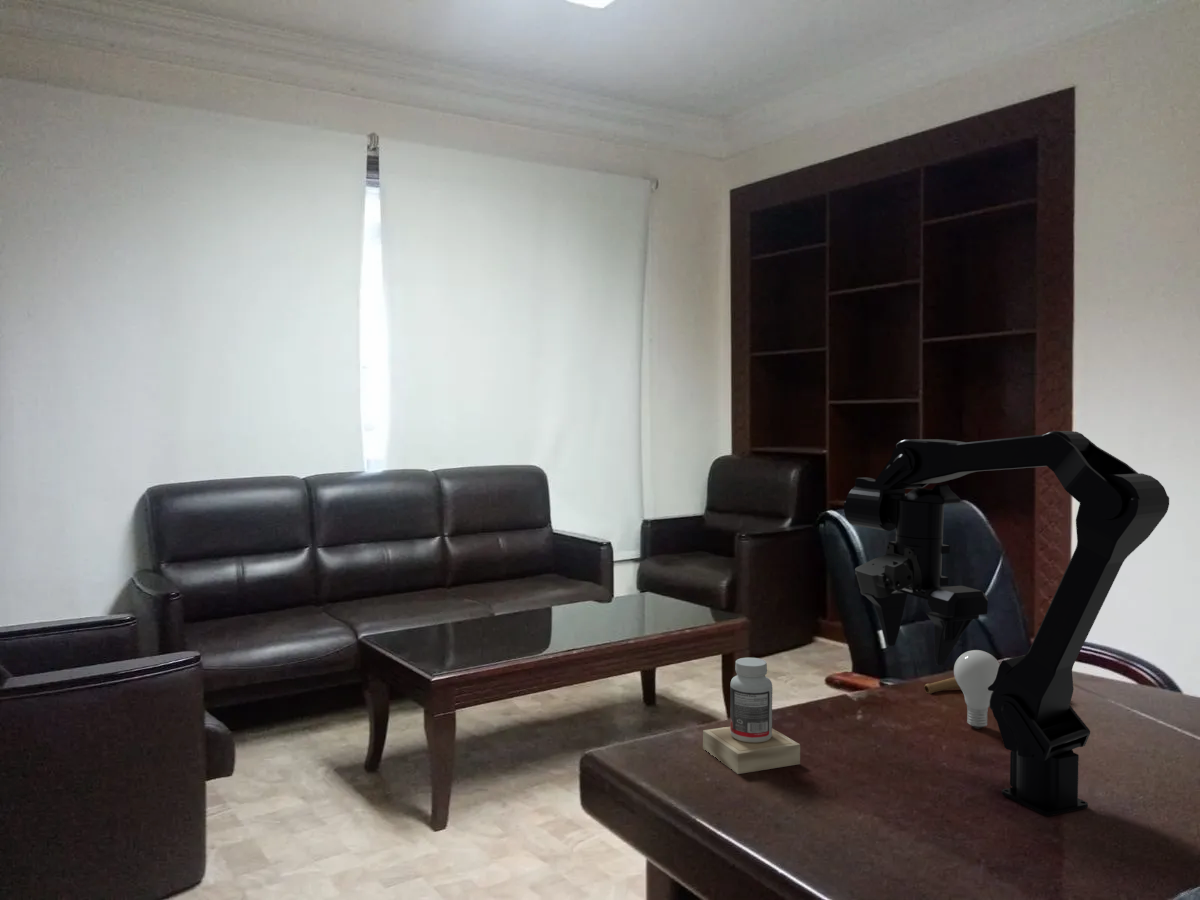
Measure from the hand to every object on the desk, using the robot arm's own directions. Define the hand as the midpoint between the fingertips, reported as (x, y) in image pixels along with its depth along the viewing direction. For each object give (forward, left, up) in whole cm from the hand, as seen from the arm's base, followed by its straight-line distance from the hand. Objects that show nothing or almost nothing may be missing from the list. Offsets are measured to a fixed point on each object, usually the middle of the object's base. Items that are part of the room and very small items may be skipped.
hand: (914, 654), depth 114 cm
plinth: (+7, +20, -13) cm, 25 cm away
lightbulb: (+5, -16, -13) cm, 21 cm away
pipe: (+16, -30, -13) cm, 36 cm away
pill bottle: (+7, +20, -11) cm, 24 cm away
